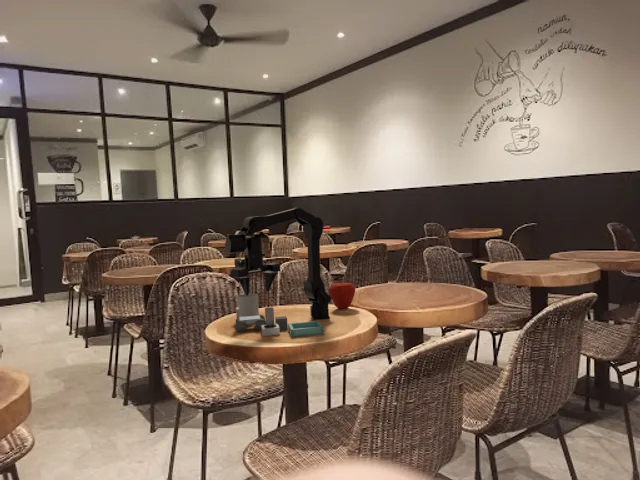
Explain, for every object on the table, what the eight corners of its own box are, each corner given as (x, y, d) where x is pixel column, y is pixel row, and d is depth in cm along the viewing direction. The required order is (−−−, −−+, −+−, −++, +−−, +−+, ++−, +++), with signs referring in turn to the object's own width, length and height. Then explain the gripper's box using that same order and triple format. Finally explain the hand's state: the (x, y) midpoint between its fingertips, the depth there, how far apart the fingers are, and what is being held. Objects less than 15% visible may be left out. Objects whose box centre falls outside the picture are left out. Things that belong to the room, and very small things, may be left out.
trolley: (265, 324, 185) (264, 303, 184) (266, 330, 175) (265, 308, 175) (236, 327, 183) (234, 306, 182) (236, 332, 174) (234, 310, 173)
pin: (274, 331, 172) (273, 306, 172) (275, 333, 169) (273, 308, 169) (266, 332, 172) (264, 307, 171) (266, 334, 169) (265, 309, 168)
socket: (278, 330, 174) (278, 323, 174) (279, 334, 168) (279, 327, 168) (261, 332, 173) (261, 325, 173) (262, 336, 167) (262, 329, 167)
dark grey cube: (286, 326, 179) (285, 316, 179) (287, 329, 176) (287, 318, 175) (275, 327, 179) (275, 317, 179) (276, 330, 175) (276, 319, 175)
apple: (357, 306, 210) (356, 278, 210) (353, 311, 200) (352, 282, 199) (332, 306, 213) (331, 279, 212) (327, 311, 202) (326, 282, 202)
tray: (318, 327, 175) (318, 320, 175) (323, 334, 165) (323, 326, 165) (288, 330, 173) (288, 323, 173) (291, 337, 164) (291, 329, 163)
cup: (254, 322, 189) (253, 297, 188) (235, 322, 190) (233, 297, 190) (261, 317, 197) (260, 293, 196) (242, 317, 199) (241, 293, 198)
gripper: (262, 248, 189) (264, 288, 189) (220, 253, 176) (223, 295, 177) (280, 248, 180) (282, 290, 181) (238, 254, 168) (240, 298, 169)
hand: (257, 293), depth 177 cm, fingers open, 9 cm apart
